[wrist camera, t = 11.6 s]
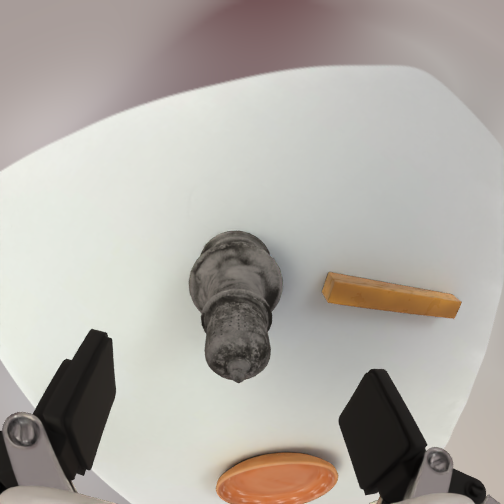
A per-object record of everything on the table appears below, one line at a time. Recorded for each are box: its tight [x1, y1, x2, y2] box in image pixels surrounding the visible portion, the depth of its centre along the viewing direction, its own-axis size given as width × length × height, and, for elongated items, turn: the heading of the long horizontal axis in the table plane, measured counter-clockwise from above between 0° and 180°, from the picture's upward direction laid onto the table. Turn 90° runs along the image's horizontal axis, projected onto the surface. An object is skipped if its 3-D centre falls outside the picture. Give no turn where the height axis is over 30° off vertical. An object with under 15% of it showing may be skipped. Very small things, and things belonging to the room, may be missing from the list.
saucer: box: [216, 452, 338, 504], centre depth 31 cm, size 16×16×3 cm
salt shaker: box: [189, 231, 283, 383], centre depth 17 cm, size 6×6×12 cm
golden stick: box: [322, 272, 462, 319], centre depth 23 cm, size 2×14×2 cm, turn 77°
